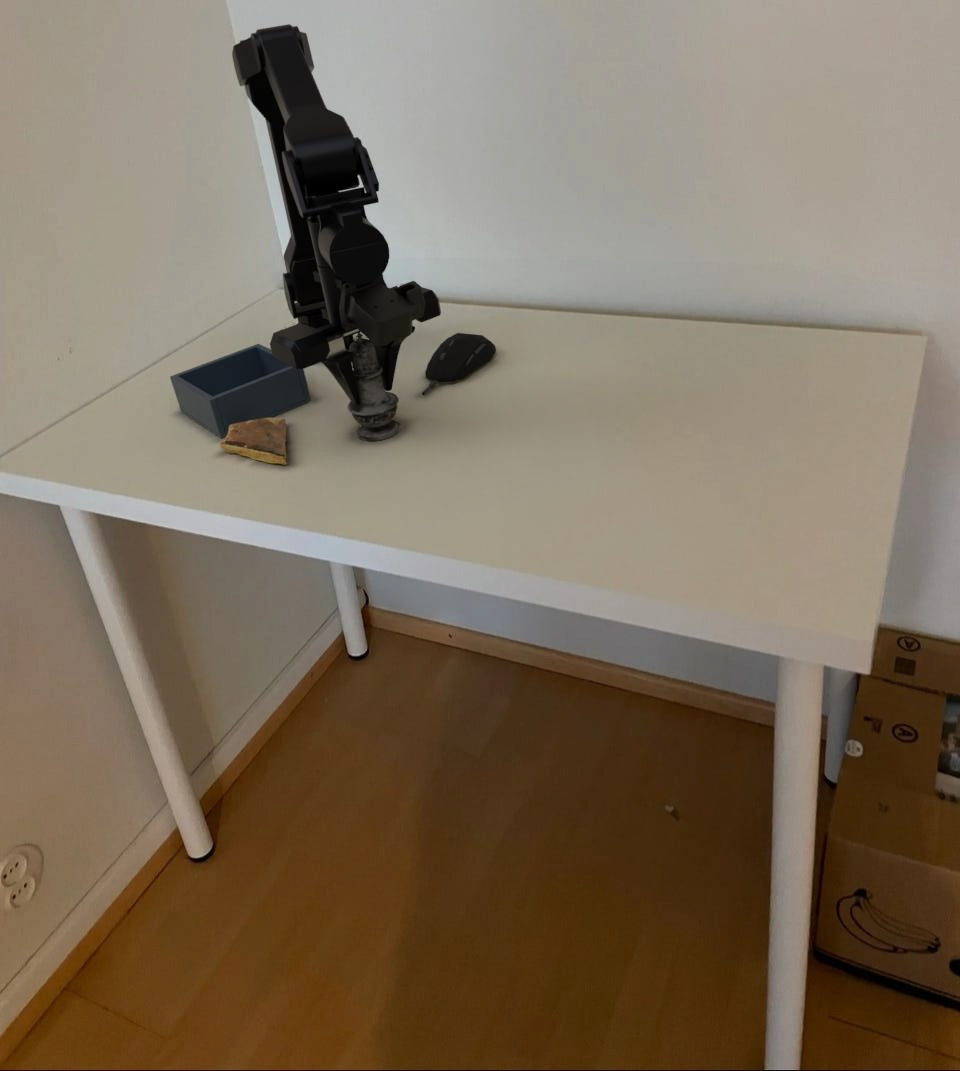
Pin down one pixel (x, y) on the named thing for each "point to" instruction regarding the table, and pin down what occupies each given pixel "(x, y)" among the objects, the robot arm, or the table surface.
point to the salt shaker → (372, 395)
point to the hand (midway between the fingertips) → (372, 396)
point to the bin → (239, 389)
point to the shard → (258, 439)
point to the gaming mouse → (458, 358)
